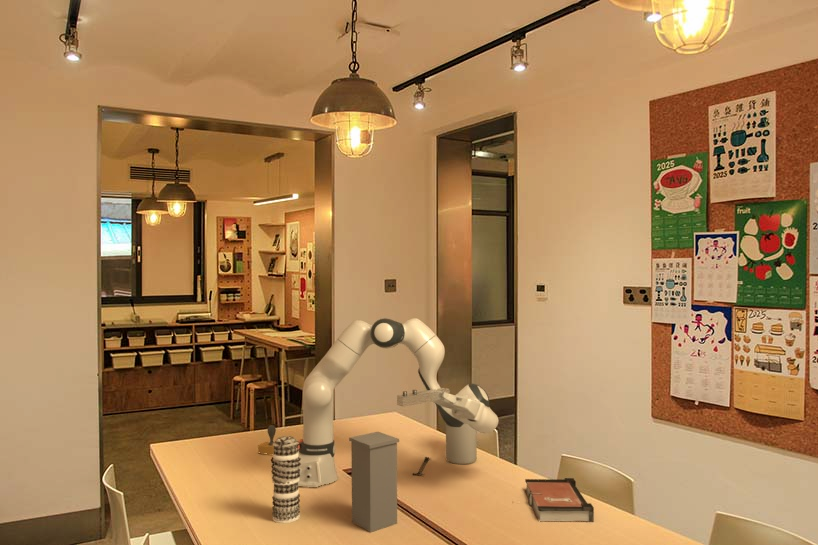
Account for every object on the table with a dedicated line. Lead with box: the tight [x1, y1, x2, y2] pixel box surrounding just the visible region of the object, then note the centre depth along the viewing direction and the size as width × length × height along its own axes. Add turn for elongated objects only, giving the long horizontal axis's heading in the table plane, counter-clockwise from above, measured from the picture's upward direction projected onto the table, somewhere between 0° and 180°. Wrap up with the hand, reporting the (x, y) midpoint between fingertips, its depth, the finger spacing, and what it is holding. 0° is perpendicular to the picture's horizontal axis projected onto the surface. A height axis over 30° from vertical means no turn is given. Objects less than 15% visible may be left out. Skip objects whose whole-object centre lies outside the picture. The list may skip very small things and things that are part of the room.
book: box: [524, 477, 595, 523], centre depth 200 cm, size 26×18×5 cm
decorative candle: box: [270, 435, 301, 524], centre depth 191 cm, size 9×9×25 cm
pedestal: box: [348, 431, 400, 533], centre depth 187 cm, size 11×11×26 cm
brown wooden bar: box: [396, 387, 451, 408], centre depth 199 cm, size 20×3×4 cm, turn 129°
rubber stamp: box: [257, 424, 277, 454], centre depth 259 cm, size 10×6×12 cm, turn 69°
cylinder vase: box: [445, 423, 478, 465], centre depth 248 cm, size 12×12×25 cm
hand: (438, 393), depth 203 cm, fingers closed on brown wooden bar, 3 cm apart
